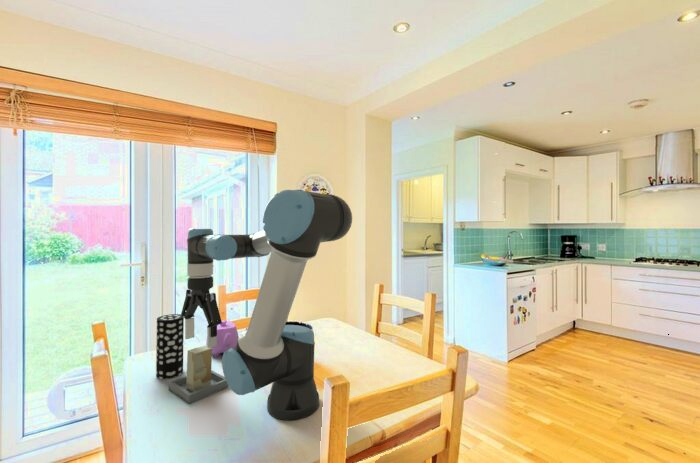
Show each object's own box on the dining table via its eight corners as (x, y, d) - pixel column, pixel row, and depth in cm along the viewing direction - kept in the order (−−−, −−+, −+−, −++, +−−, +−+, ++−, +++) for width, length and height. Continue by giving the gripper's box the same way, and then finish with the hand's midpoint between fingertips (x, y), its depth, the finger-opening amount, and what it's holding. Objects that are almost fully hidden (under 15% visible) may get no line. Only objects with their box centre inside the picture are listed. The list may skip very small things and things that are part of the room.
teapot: (202, 346, 139) (203, 317, 139) (232, 341, 146) (232, 313, 146) (211, 363, 122) (211, 330, 122) (244, 356, 129) (244, 325, 129)
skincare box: (193, 392, 99) (193, 353, 99) (185, 388, 102) (186, 350, 102) (212, 384, 105) (212, 347, 105) (204, 380, 107) (205, 344, 107)
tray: (228, 386, 105) (228, 379, 105) (189, 404, 94) (189, 395, 94) (207, 375, 113) (207, 368, 112) (168, 390, 102) (168, 382, 102)
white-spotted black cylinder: (171, 380, 108) (171, 321, 108) (150, 377, 110) (150, 319, 110) (188, 369, 117) (189, 315, 116) (168, 367, 118) (169, 313, 118)
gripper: (233, 278, 99) (233, 347, 99) (192, 272, 113) (192, 332, 113) (210, 281, 93) (210, 354, 93) (170, 274, 107) (170, 337, 107)
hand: (200, 342), depth 103 cm, fingers open, 13 cm apart
